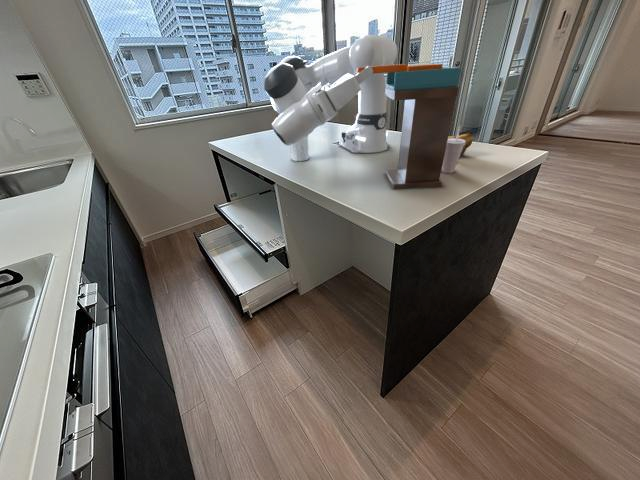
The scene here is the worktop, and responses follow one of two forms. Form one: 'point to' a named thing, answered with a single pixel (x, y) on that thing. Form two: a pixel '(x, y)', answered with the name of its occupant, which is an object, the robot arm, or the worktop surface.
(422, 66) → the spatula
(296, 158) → the white cup
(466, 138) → the bread roll
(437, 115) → the stand
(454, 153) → the smoothie
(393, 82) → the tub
